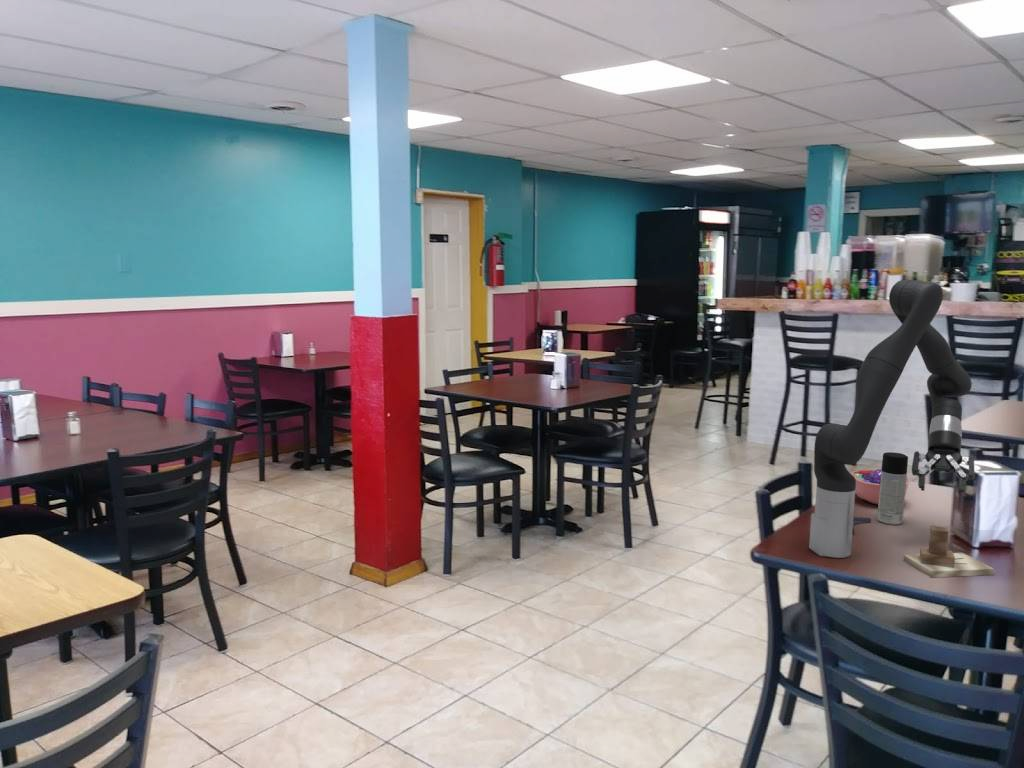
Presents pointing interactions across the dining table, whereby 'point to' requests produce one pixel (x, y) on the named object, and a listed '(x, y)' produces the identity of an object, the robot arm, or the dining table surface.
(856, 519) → the bracket
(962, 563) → the board
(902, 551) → the dining table surface
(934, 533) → the brown wooden stepped block
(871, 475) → the cell model
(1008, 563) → the dining table surface
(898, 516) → the spray can
